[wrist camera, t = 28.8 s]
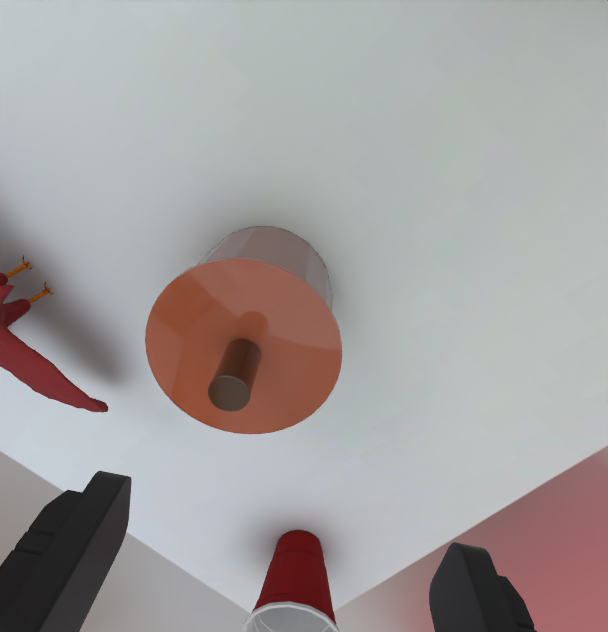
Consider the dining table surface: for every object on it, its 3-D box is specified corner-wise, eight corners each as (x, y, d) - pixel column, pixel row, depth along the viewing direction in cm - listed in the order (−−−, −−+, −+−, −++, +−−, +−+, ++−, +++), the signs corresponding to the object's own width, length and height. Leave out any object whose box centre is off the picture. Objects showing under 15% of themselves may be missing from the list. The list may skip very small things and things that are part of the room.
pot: (182, 244, 41) (127, 288, 29) (312, 211, 39) (307, 244, 28) (225, 359, 46) (192, 435, 34) (342, 334, 44) (349, 405, 32)
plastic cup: (294, 500, 53) (286, 597, 42) (356, 544, 56) (364, 646, 45) (240, 544, 57) (220, 643, 46) (301, 583, 59) (295, 686, 48)
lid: (120, 280, 30) (72, 315, 24) (315, 231, 28) (312, 257, 22) (191, 438, 35) (165, 497, 29) (359, 406, 33) (366, 463, 27)
